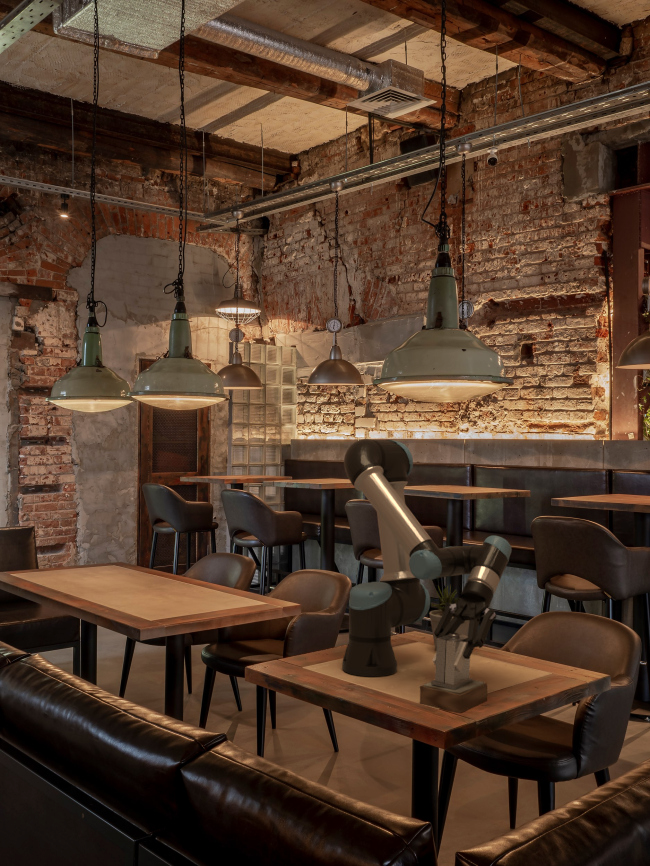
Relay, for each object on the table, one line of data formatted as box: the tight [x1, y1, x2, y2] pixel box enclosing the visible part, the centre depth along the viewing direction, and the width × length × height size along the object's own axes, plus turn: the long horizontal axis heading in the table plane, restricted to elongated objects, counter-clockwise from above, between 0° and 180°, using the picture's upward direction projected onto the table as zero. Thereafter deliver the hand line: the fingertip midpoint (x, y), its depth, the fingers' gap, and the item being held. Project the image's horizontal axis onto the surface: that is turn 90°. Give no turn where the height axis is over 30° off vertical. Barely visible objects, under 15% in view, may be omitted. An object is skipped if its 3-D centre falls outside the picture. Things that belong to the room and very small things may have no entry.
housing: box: [430, 633, 474, 690], centre depth 193 cm, size 6×9×12 cm
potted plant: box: [428, 585, 470, 648], centre depth 244 cm, size 13×14×20 cm
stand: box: [419, 679, 488, 714], centre depth 193 cm, size 11×13×4 cm
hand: (446, 666), depth 190 cm, fingers closed on housing, 5 cm apart
